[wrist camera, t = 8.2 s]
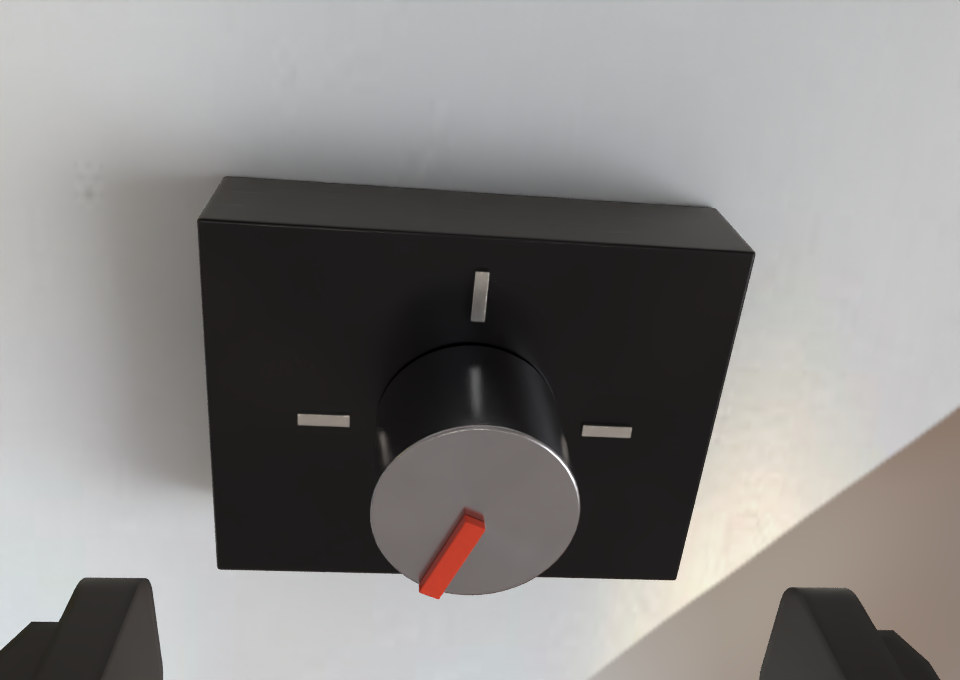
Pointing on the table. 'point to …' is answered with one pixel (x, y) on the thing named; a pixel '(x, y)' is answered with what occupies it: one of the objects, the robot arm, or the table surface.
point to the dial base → (456, 322)
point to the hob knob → (471, 473)
